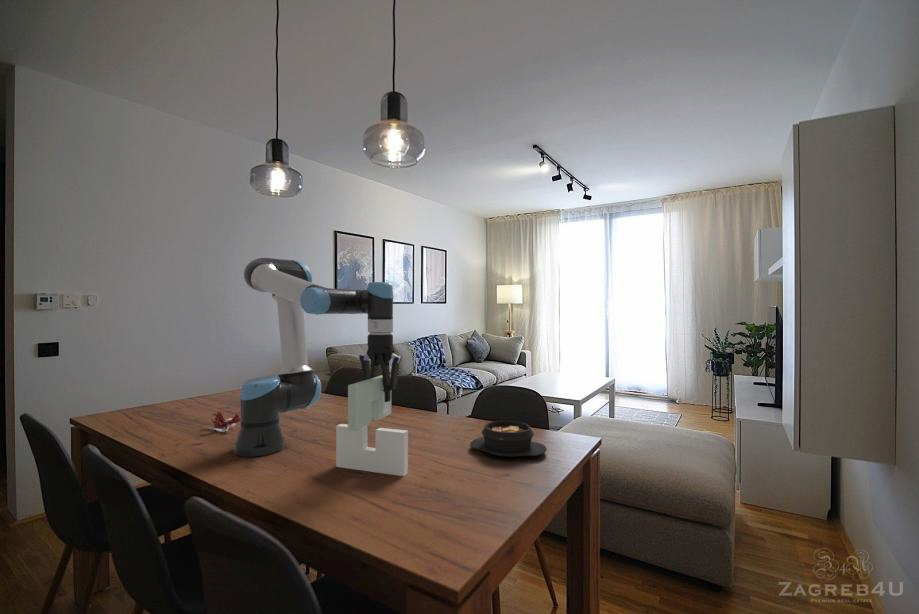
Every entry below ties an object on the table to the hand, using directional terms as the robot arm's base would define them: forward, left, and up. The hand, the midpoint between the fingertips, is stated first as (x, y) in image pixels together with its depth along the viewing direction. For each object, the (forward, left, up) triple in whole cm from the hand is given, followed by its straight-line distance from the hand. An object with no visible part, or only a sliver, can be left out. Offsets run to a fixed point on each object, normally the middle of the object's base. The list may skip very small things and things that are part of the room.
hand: (380, 411), depth 126 cm
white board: (0, -5, -16) cm, 16 cm away
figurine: (-74, +12, -16) cm, 77 cm away
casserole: (+34, +23, -16) cm, 44 cm away
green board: (0, -5, -2) cm, 5 cm away
